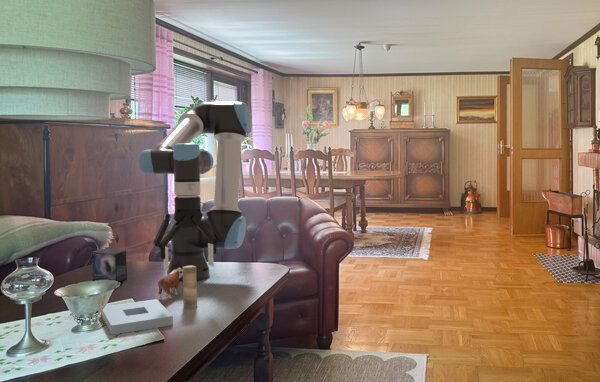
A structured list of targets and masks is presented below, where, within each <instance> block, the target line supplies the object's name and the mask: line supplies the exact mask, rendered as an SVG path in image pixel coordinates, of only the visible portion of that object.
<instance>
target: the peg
mask: <svg viewBox="0 0 600 382" xmlns="http://www.w3.org/2000/svg"><path fill="white" fill-rule="evenodd" d="M197 281H198V280H197V278H196V266H184V267H183V281H182V291H183V292H182V294H183V297H182V298H183V300H182V301H183V308H184V309H195V308H197V307H198V284H197Z"/></svg>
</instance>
